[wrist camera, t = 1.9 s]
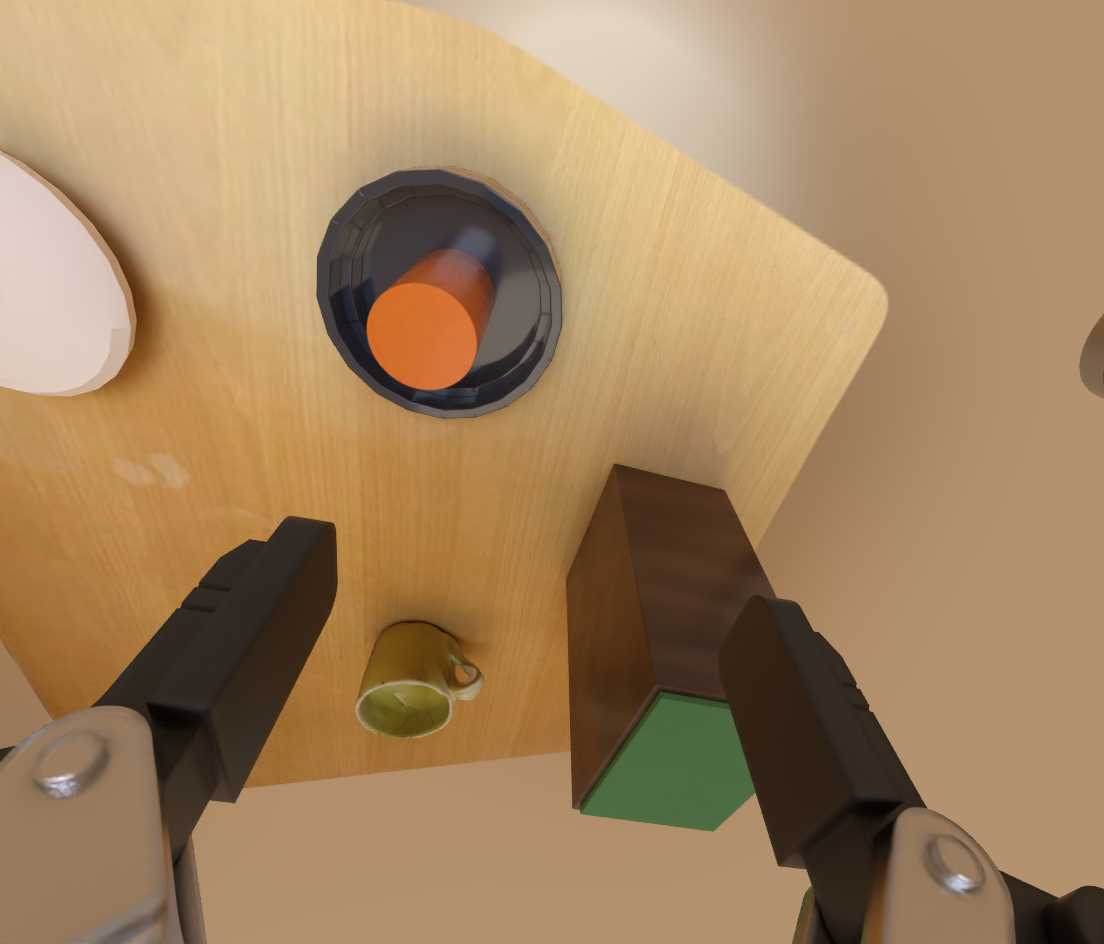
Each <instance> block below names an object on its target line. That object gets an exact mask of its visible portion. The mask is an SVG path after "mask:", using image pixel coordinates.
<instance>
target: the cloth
mask: <svg viewBox="0 0 1104 944" xmlns="http://www.w3.org/2000/svg"><path fill="white" fill-rule="evenodd" d="M754 793H756V792H755V789H754V785H753V782H752V779H751V776H750V772H749V769H748V766H747V762H746V759H745V756H744V753H743V749H742V746H741V743H740V740H739V736H738V733H737V730H736V727H735V723H734V720H733V717H732V714H731V710H730V707H729V704H728V703H724V702H718V701H713V700H707V699H701V698H695V697H690V696H684V695H678V694H672V693H667V692H659V694H658V695H657V697H656V698H655V700H654V701H653V703H652V704H651V705H650V707H649V708H648V710H647V711H646V713H645V714H644V716H643V717H642V719H641V720H640V721H639V723H638V724H637V726H636V727H635V729H634V730H633V732H632V733H631V735H630V736H629V737H628V739H627V740H626V742H625V743H624V745H623V746H622V748H621V749H620V750H619V752H618V753H617V755H616V756H615V758H614V759H613V761H612V762H611V764H610V765H609V766H608V768H607V769H606V771H605V772H604V774H603V775H602V777H601V778H600V780H599V781H598V782H597V784H596V785H595V787H594V788H593V790H592V791H591V793H590V794H589V796H588V797H587V798H586V800H585V801H584V803H583V804H582V806H581V807H580V814H584V815H592V816H599V817H608V818H615V819H622V820H630V821H637V822H645V823H653V824H660V825H668V826H675V827H683V828H691V829H698V830H706V831H714V830H715V829H717V828H718V827H719V826H720V825H721V824H722V823H723V822H724V821H725V820H726V819H727V818H728V817H729V816H731V815H732V814H733V813H734V812H735V811H736V810H737V809H738V808H739V807H740V806H741V805H743V804H744V803H745V802H746V801H747V800H748V799H749V798H750V797H751V796H752V795H753V794H754Z"/></svg>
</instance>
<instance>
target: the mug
mask: <svg viewBox="0 0 1104 944" xmlns="http://www.w3.org/2000/svg"><path fill="white" fill-rule="evenodd" d="M456 665H459V666H460V667H461V668H462V669H463V670H464V672H465V673H466V674H468V675H469V678H468V679H467V681H466V682H462V683H460V682H459V681H458V680H457V678H456V676H455V666H456ZM483 684H484V677H483V675H482V673H481V672H480V670H479V669H478V668H477V667H476V666H475V665H474V664H473V663H471V662H470V661H468V660H466V659H465V658H464V657H463V654H462V652H461V649H460V647H459V646H458V644H457V642H456V641H455V639H454V638H453V637H451V636H450V635H448V634H446V633H443V632H441V631H440V630H439V629H437V628H436V627H435V626H432V625H430V624H426V623H422V622H416V623H405V622H403V623H398V624H395V625H393V626H391V627H389V628H388V629H386V630H385V631H384V632H382V633H381V635H380V636H379V637H378V639H377V640H376V642H375V645H374V648H373V650H372V653H371V656H370V659H369V662H368V665H367V668H366V670H365V673H364V676H363V679H362V683H361V687H360V691H359V695H358V698H357V702H356V707H355V713H356V715H357V717H358V720H359V721H360V722H361V723H362V725H363V727H365V728H366V729H368V730H370V731H372V732H373V733H375V734H377V735H381V736H385V737H390V738H395V739H407V738H419V737H423V736H426V735H429V734H432V733H434V732H436V731H439V730H440V729H442V728H443V727H444V726H445V725H446V724H447V723H448V722H449V721H450V719H451V717H452V714H453V709H454V704H455V701H456V700H463V701H466V700H471V699H474V698H475V697H476V696H477V694H478V693H479V692H480V691H481V688H482V686H483Z"/></svg>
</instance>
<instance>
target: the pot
mask: <svg viewBox="0 0 1104 944" xmlns="http://www.w3.org/2000/svg"><path fill="white" fill-rule="evenodd" d="M446 248H449V249H456V250H460V251H463V252H465V253H467V254H469V255H471V256H472V257H474V258H475V259H477V260H478V261H479V262H480V263H481V264H482V265H483V267H484V268H485V269H486V271H487V272H488V274H489V276H490V278H491V281H492V283H493V287H494V294H495V301H494V307H493V310H492V313H491V316H490V319H489V322H488V324H487V327H486V330H485V333H484V336H483V338H482V341H481V344H480V347H479V350H478V352H477V355H476V358H475V361H474V363H473V365H472V367H471V369H470V370H469V372H468V373H467V374H466V375H465V376H464V377H463V378H462V379H461V380H460V381H458V382H457V383H455V384H453V385H451V386H449V387H446V388H443V389H437V390H422V389H417V388H413V387H410V386H407V385H405V384H403V383H401V382H399V381H398V380H396V379H395V378H393V377H392V376H390V375H389V374H388V373H387V372H386V371H385V370H384V369H383V368H382V367H381V366H380V364H379V363H378V361H377V360H376V358H375V357H374V355H373V353H372V350H371V348H370V345H369V341H368V337H367V321H368V316H369V313H370V310H371V308H372V306H373V304H374V303H375V301H376V300H377V299H378V298H379V297H380V295H381V294H383V293H384V292H385V291H386V290H387V289H388V288H389V287H390V286H391V285H392V284H394V283H395V282H396V281H397V280H398V279H399V278H400V277H401V276H402V275H403V274H405V273H406V272H407V271H408V270H409V269H410V268H411V267H412V266H413V265H415V264H416V263H417V262H418V261H419V260H420V259H421V258H422V257H424V256H425V255H426V254H428V253H430V252H432V251H435V250H438V249H446ZM316 295H317V300H318V303H319V307H320V310H321V313H322V317H323V320H324V323H325V327H326V330H327V334H328V336H329V337H330V339H331V340H332V342H333V344H334V345H335V347H336V348H337V350H338V351H339V353H340V355H341V356H342V358H343V359H344V361H345V363H346V364H347V366H348V367H349V368H350V369H351V370H352V371H353V372H354V373H355V374H356V375H357V376H358V377H359V378H361V379H362V380H363V381H364V382H365V383H366V384H367V385H368V386H369V387H370V388H371V389H372V390H373V391H375V392H376V393H377V394H379V395H380V396H382V397H384V398H386V399H388V400H390V401H391V402H393V403H395V404H397V405H399V406H401V407H403V408H404V409H406V410H409V411H413V412H417V413H421V414H425V415H429V416H433V417H437V418H443V419H445V418H474V417H478V416H481V415H484V414H487V413H490V412H493V411H496V410H499V409H502V408H505V407H507V406H509V405H510V404H511V403H513V402H514V401H515V400H517V399H518V398H519V397H521V396H522V395H523V394H525V393H526V392H527V391H529V390H530V389H532V387H534V385H535V384H536V382H537V381H538V379H539V378H540V377H541V375H542V374H543V372H544V371H545V369H546V368H547V367H548V365H549V364H550V362H551V361H552V358H553V355H554V352H555V349H556V345H557V342H558V338H559V335H560V332H561V328H562V291H561V272H560V268H559V265H558V262H557V259H556V256H555V253H554V250H553V248H552V245H551V242H550V239H549V236H548V234H547V233H546V231H545V230H544V229H543V227H542V226H541V224H540V223H539V222H538V220H537V219H536V217H535V216H534V215H533V213H532V212H531V211H530V209H529V208H528V206H527V205H526V204H525V203H524V202H523V201H522V200H521V199H519V198H518V197H517V196H515V195H514V194H512V193H511V192H510V191H508V190H507V189H506V188H504V187H503V186H502V185H500V184H499V183H498V182H496V181H495V180H494V179H491V178H490V177H487V176H484V175H481V174H478V173H474V172H471V171H468V170H465V169H462V168H459V167H456V166H433V167H414V168H409V169H405V170H400V171H396V172H393V173H391V174H389V175H387V176H385V177H383V178H380V179H378V180H376V181H374V182H372V183H370V184H367V185H365V186H363V187H361V188H360V189H358V190H357V191H356V192H355V193H354V194H353V195H352V196H351V198H350V199H349V200H348V201H347V202H346V203H345V204H344V205H343V206H342V207H341V209H340V210H339V211H338V212H337V213H336V214H335V215H334V216H333V217H332V219H331V220H330V223H329V226H328V228H327V231H326V234H325V236H324V239H323V242H322V244H321V247H320V250H319V252H318V255H317V294H316Z"/></svg>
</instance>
